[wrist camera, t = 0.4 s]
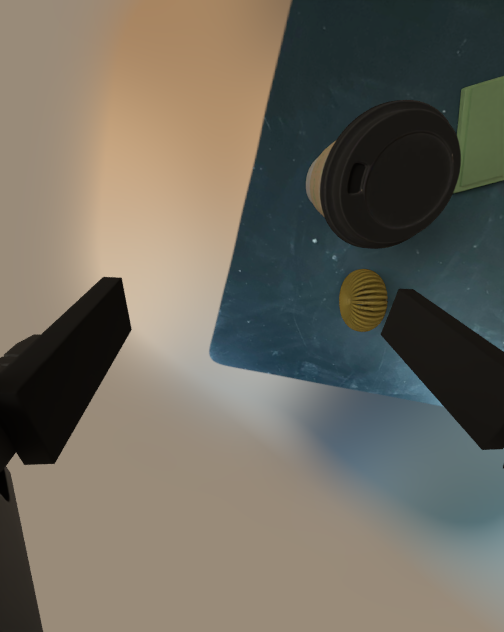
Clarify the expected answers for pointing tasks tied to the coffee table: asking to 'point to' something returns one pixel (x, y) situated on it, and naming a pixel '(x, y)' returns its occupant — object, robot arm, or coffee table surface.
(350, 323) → the sculpture
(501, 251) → the coffee table surface
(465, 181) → the green cloth
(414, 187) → the coffee cup
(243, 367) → the coffee table surface
